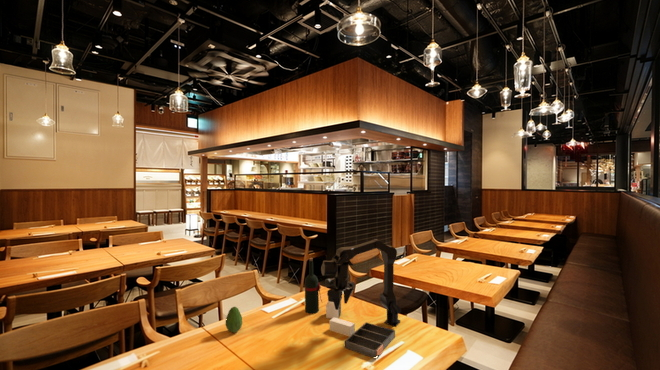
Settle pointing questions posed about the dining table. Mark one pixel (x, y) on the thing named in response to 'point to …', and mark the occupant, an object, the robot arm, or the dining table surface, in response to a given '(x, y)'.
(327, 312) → the medicine bottle
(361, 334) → the divided tray
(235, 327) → the avocado
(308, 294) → the wine bottle
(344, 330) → the blanking panel
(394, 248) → the robot arm
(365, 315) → the dining table surface
